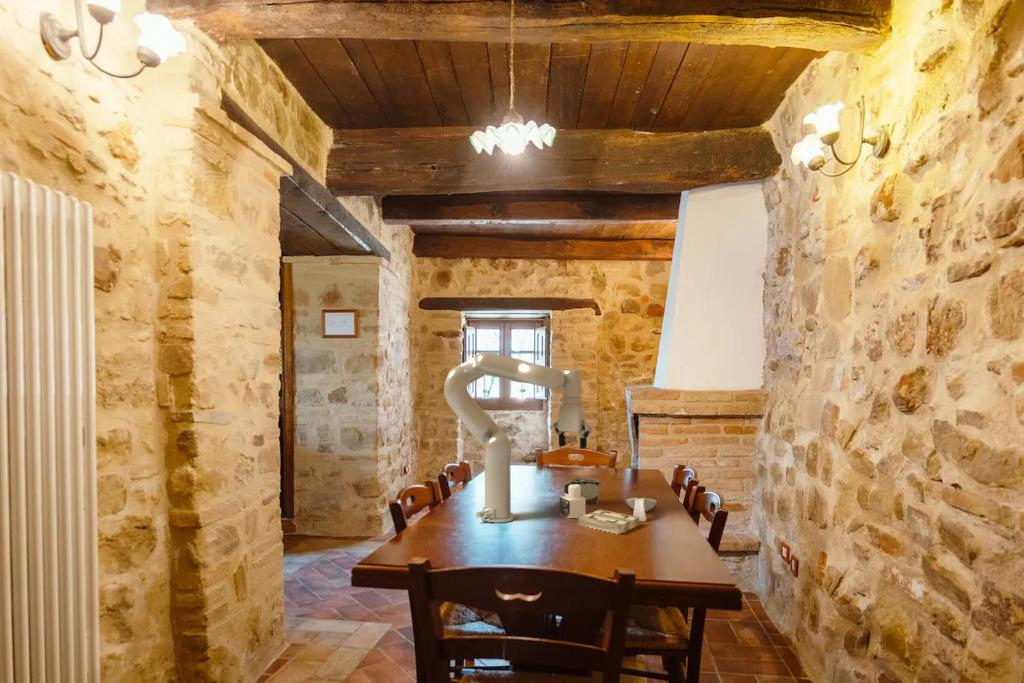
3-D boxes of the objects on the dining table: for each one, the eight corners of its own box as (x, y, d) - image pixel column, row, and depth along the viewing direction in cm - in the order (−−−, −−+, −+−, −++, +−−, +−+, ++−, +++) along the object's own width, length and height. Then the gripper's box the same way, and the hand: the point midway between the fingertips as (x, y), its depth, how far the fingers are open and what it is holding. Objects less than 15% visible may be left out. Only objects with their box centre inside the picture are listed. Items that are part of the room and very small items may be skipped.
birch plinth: (618, 534, 183) (618, 525, 183) (578, 525, 193) (578, 516, 194) (639, 525, 193) (639, 516, 193) (600, 517, 204) (600, 508, 204)
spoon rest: (626, 505, 223) (626, 487, 223) (656, 507, 220) (656, 489, 220) (623, 521, 200) (623, 501, 200) (657, 523, 197) (656, 503, 198)
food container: (600, 502, 227) (600, 477, 228) (601, 505, 221) (601, 480, 222) (570, 501, 229) (570, 477, 229) (570, 505, 222) (570, 480, 223)
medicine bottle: (559, 514, 208) (559, 483, 208) (575, 512, 211) (575, 481, 211) (569, 519, 201) (569, 486, 202) (586, 517, 204) (585, 484, 205)
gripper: (547, 401, 211) (548, 446, 210) (585, 403, 200) (586, 450, 199) (559, 400, 217) (560, 444, 216) (596, 402, 205) (597, 448, 204)
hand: (572, 447), depth 207 cm, fingers open, 9 cm apart
